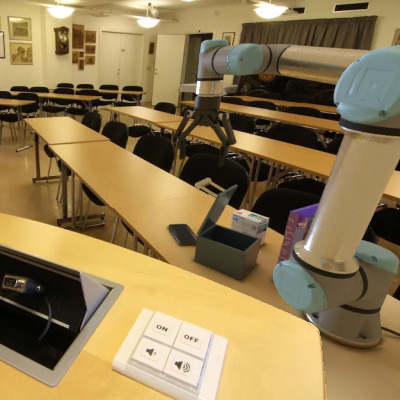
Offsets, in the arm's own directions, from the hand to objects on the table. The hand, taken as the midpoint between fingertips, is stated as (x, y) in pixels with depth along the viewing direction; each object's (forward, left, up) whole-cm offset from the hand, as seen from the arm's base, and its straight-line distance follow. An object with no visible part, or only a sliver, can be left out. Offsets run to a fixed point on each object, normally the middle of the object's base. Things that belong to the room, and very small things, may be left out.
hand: (200, 162), depth 106 cm
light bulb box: (-13, -19, -33) cm, 40 cm away
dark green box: (-14, +1, -32) cm, 35 cm away
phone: (+6, -6, -32) cm, 33 cm away
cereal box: (-34, -7, -33) cm, 47 cm away
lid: (-9, +1, -14) cm, 17 cm away
